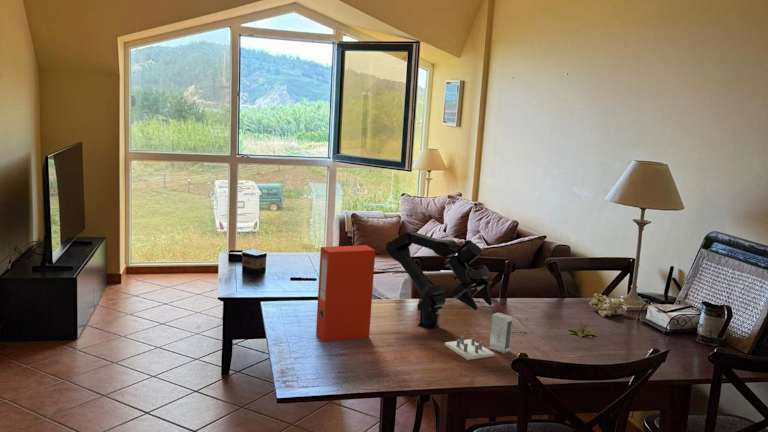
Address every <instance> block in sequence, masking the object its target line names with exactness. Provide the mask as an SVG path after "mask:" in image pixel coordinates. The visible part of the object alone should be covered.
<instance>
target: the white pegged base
mask: <svg viewBox="0 0 768 432" xmlns="http://www.w3.org/2000/svg"><path fill="white" fill-rule="evenodd" d="M444 346H446V348H449V350H451V351H453V352H454V353H456V354H457V355H458V356H461V357H462V358H463V359H465V360H467V361H468V360H469V361H470V360H475V359H482V358H490V357H491V358H492V357H494V356H495V352H493V351H491V350H489V349H488V348H486V346H485V347H484V346H483V341H479V342H476V337H473V336H472V337H471V338H470V339H469V338H468V339H465V336H463V335H461V336H460V338H456V340H455V341H447V342H444Z"/></svg>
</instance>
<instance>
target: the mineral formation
mask: <svg viewBox="0 0 768 432" xmlns="http://www.w3.org/2000/svg"><path fill="white" fill-rule="evenodd" d="M588 304H589V306H590V307H593V308H594V309H596V311H597V312H598V314H599V315H600V316H601V317H603V318H604V317H606V316H607V317H611V316H612V315H614V316H617V315H620V314H622V313H623V312H627V308H624V307H623V306H624V305H625V301H624V300H620V299H619V298H615V299H613V300H612V299H611V298H608V296H606V295H603V294H598V293H594V294H593V298H591V301H590V302H589V303H588Z"/></svg>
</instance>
